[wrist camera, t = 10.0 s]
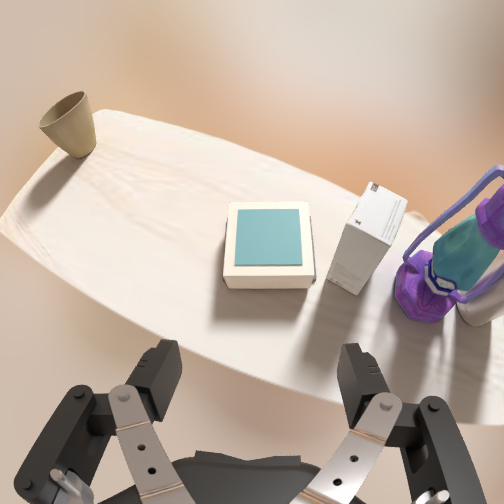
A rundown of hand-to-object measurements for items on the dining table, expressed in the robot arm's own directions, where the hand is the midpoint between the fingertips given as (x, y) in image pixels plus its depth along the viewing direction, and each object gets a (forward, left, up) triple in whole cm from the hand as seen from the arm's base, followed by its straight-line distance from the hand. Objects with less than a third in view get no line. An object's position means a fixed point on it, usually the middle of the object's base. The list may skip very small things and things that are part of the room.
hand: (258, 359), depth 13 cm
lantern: (-25, -11, -26) cm, 38 cm away
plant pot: (+50, -52, -26) cm, 77 cm away
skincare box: (-13, -16, -26) cm, 33 cm away
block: (0, -13, -23) cm, 26 cm away
